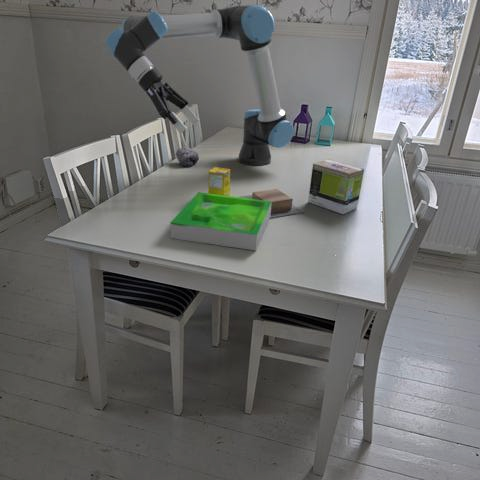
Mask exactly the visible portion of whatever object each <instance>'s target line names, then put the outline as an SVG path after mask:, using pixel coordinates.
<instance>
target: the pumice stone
mask: <svg viewBox="0 0 480 480" xmlns="http://www.w3.org/2000/svg"><path fill="white" fill-rule="evenodd" d="M175 156H176V157H177V160H178V163H179V164H180V165H182V166H184V167H190V168H191V167H193V165H195V164H197V163H198V162H199V159H200V156H199V152H197V150H195V149H193V148H190V147H188V146H185V147H180V148H178V149H177V150H176V152H175Z"/></svg>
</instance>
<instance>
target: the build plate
mask: <svg viewBox="0 0 480 480" xmlns="http://www.w3.org/2000/svg"><path fill="white" fill-rule="evenodd" d="M240 197H241V198H249V199H257V200H265V201H272V204H271V216H270V218H269V220H270V219H277V218H282V217H287V216H294V215H300V214H304V211H303V210H302V209H300V208H299V207H297V206H296V205H294V204H293V198H292V197H291V196H289V195H287V194H285V193H284V192H283V191H281V190H279V189H278V188H275V189H274V188H273V189H267V190H261V191H254V192H252V193H251V194H249V195H242V196H240Z"/></svg>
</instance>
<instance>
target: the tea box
mask: <svg viewBox="0 0 480 480" xmlns="http://www.w3.org/2000/svg"><path fill="white" fill-rule="evenodd" d="M364 174H365V169H364V168H362V167H358V166H354V165H351V164H347V163H344V162H340V161H335V160H332V159H325V160H322V161H321V160H320V161H318V162H315V163H314V162H313V163H312V169H311V175H310V176H311V177H310V183H309V191H308V192H309V193H308V203H310V204H313V205H315V206H319V207H321V208H323V209H327V210H330V211H333V212H335V213H338V214H341V215H345V214H347V213H350V212H352V211H354V210H355V209H357V208H358V204H359V202H360V201H359V199H360V194H361V189H362V184H363V177H364Z"/></svg>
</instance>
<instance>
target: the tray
mask: <svg viewBox="0 0 480 480" xmlns="http://www.w3.org/2000/svg"><path fill="white" fill-rule="evenodd" d="M271 204H272V201H265V200H257V199H249V198H241V196H234V195H233V196H232V195H229V196H225V195H217V194H209V193H208V192H200V191H199V192H197V193H196V194H195V195H194V196H193V197H191V199H190V201H188V203H187V204H186V205H185V206H184V207H183V208H182V209H181V210H180V212H178V214H177V215H176V216H175V217H174V218H173V219H172V220H171V221H170V239H177V240H182V241H189V242H195V243H201V244H202V243H203V244H210V245H215V246H223V247H230V248H236V249H243V250H249V251H257V250H258V246H259V244H260V242H261V239H262V237H263V234H264V232H265V230H266V227H267V225H268V223H269V220H270V219H269V218H270V216H271Z"/></svg>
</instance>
